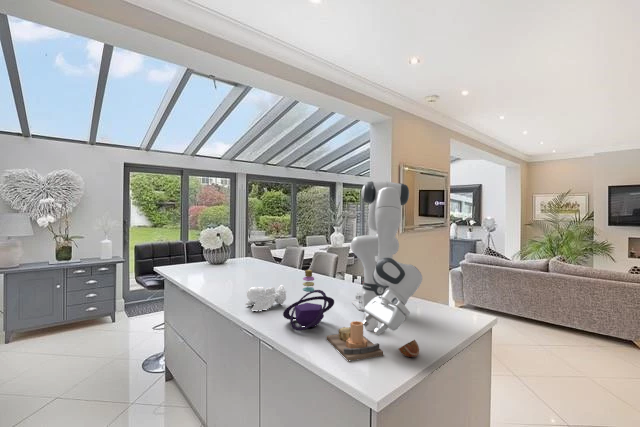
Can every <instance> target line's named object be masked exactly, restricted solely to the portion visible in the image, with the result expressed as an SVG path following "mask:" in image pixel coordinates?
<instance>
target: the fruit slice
mask: <svg viewBox="0 0 640 427" xmlns="http://www.w3.org/2000/svg"><path fill="white" fill-rule="evenodd" d="M398 351H399V352H400V354H402V355H403V356H405V357H408V358H415V357H418V355H420V346H419V344H418V342H417V340H415V339H413V340H412V341H411V340H410V341H408V342H407V343H405V344H404V345H401V346H400V347H399V348H398Z"/></svg>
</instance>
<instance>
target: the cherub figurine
mask: <svg viewBox="0 0 640 427" xmlns="http://www.w3.org/2000/svg"><path fill="white" fill-rule="evenodd" d="M246 298H247V299H248V301H246V303H245V304H244V305H245V306H246V305H251V306H252V305H254V304H255V305H254V306H252V308H251V310H263V309H268V310H270V309H271V307H273V306H274V303H276V304H278V305H280V304H282V305H283V304H284V303H285V301H286V300H287V290H286V287H285V286H284V284H280V285H279V286H278V288H276V289H275V287H274V286H272V287H266V289H265V288H264V287H263V286H258V287H257V286H251V287H250V288H249V289H248V290H247V291H246ZM269 308H270V309H269Z"/></svg>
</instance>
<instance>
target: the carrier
mask: <svg viewBox="0 0 640 427" xmlns="http://www.w3.org/2000/svg"><path fill="white" fill-rule="evenodd" d="M348 338H350V326H349V327H348V326H347V327H345V326H343V327H341V328H338V333H337V334H332V335H331V334H330V335H326V341H327V340H328V341H329V342H330V343H331V344H332V345H333V346H334V347H335V348H336V349H337V350H338V351H339V352H340V353H341V354H342V355H343V356H344V357H345V358H346V359H347V360H348V361H347V360H346V359H345V358H344V357H343V356H342V355H341V354H340V353H339V352H338V351H337V350H336V349H335V348H334V347H333V346H332V345H331V344H330V343H329V342H328V343H329V344H330V345H331V346H332V347H333V348H334V349H335V350H336V351H337V352H338V353H339V354H340V355H341V356H342V357H343V358H344V359H345V360H346V361H347V362H350V361H349V360H354V361H358V360H357V359H360V360H365V359H371V358H377V357H381V356H382V357H383V356H384V350H382V349H381V348H380V343H373V342H372V341H371V340H370V339H368V338H366V336H364V335H363V338H364V339H365V340H367V347H363V348H349V347H347V346H346V340H348Z"/></svg>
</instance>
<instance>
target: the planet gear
mask: <svg viewBox="0 0 640 427" xmlns="http://www.w3.org/2000/svg"><path fill="white" fill-rule="evenodd" d="M362 322H363V321H358V320H355V321H354V320H353V321H351V322H350V323H349V325H350V326H349V327H350V338H348V340H346V346H347V347H349V348H363V347H367V340H365V339H364V338H363V336H364V325H363V323H362Z"/></svg>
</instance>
